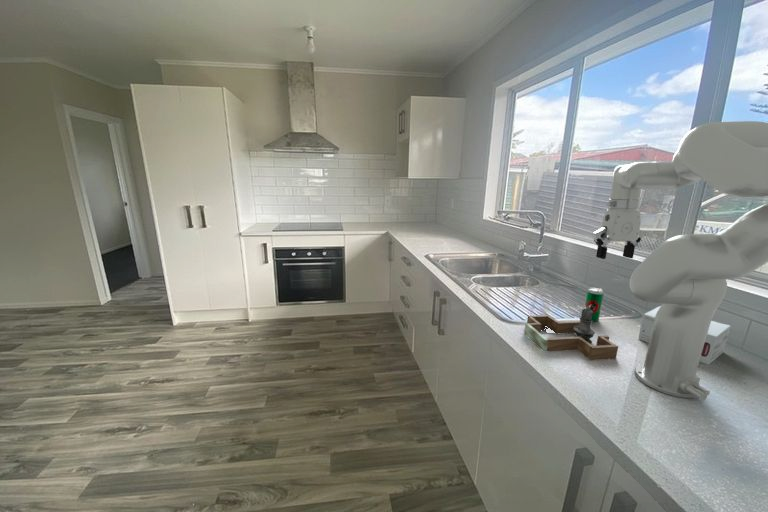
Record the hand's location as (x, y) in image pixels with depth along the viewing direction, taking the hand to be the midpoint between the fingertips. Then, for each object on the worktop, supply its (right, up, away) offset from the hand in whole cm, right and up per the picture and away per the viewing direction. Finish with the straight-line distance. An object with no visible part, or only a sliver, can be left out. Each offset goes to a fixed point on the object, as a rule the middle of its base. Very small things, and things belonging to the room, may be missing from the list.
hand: (614, 257), depth 99 cm
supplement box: (+18, -28, -3) cm, 34 cm away
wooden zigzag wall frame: (-17, -27, -1) cm, 32 cm away
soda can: (+2, -24, +15) cm, 28 cm away
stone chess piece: (-11, -27, 0) cm, 29 cm away
